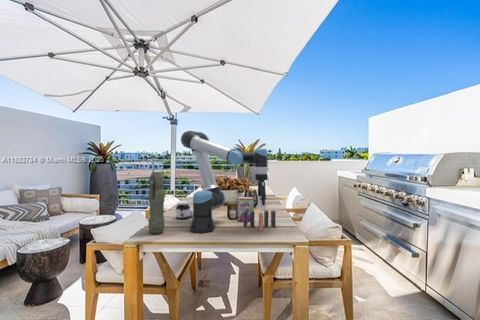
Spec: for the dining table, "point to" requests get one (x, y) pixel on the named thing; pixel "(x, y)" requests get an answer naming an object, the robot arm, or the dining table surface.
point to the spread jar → (183, 210)
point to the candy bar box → (244, 207)
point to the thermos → (156, 203)
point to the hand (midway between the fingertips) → (261, 208)
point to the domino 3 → (261, 221)
